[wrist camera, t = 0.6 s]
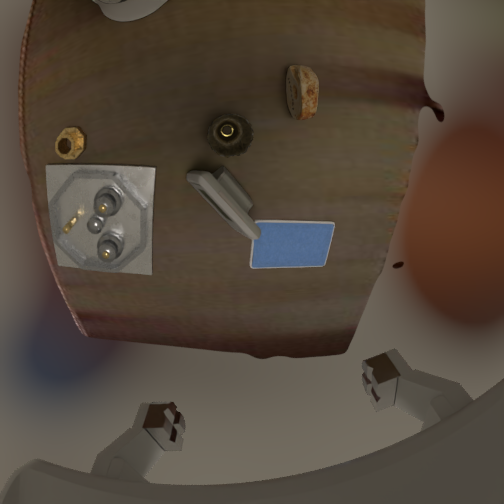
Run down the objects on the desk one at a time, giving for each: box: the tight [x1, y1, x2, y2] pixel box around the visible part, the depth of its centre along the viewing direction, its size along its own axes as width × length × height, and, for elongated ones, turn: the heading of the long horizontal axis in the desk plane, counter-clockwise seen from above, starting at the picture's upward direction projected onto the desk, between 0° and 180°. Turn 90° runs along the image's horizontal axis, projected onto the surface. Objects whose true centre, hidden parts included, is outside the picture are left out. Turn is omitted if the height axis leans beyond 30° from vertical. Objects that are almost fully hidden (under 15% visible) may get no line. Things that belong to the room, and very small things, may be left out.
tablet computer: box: [249, 220, 335, 268], centre depth 64 cm, size 19×13×1 cm, turn 85°
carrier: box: [46, 163, 156, 275], centre depth 50 cm, size 25×25×6 cm
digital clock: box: [187, 166, 261, 240], centre depth 50 cm, size 16×9×11 cm, turn 26°
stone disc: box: [286, 65, 319, 120], centre depth 41 cm, size 10×4×10 cm, turn 3°
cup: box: [207, 114, 253, 158], centre depth 45 cm, size 7×7×8 cm
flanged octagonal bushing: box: [55, 127, 87, 159], centre depth 41 cm, size 6×6×4 cm
